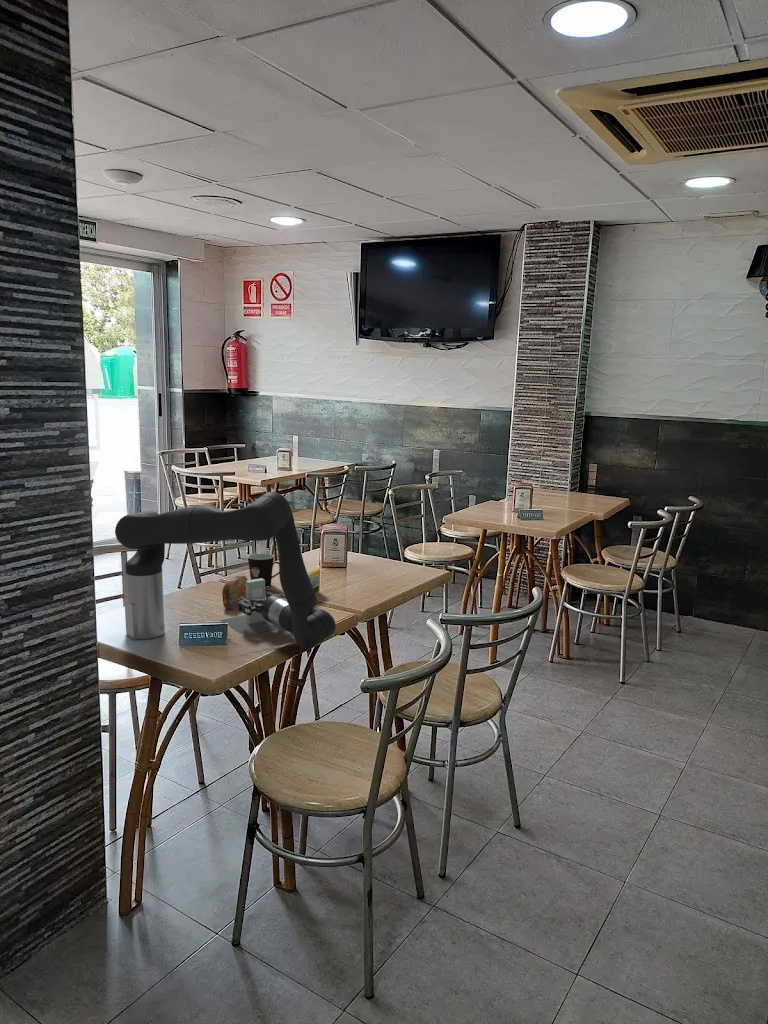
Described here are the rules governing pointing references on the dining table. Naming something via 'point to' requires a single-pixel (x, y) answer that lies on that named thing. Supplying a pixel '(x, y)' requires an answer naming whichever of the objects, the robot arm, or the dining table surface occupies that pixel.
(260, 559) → the coffee mug
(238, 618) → the mat
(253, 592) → the pale green box
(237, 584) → the tin
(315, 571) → the candy box
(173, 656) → the dining table surface
